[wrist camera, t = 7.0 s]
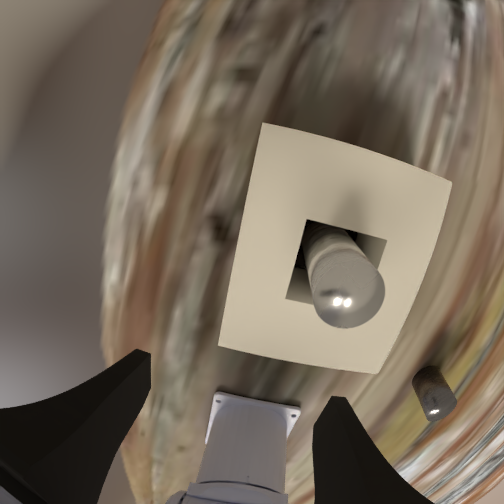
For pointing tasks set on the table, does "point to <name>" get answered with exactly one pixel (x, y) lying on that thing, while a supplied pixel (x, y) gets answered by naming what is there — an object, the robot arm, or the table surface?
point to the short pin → (433, 393)
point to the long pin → (341, 277)
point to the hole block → (337, 214)
